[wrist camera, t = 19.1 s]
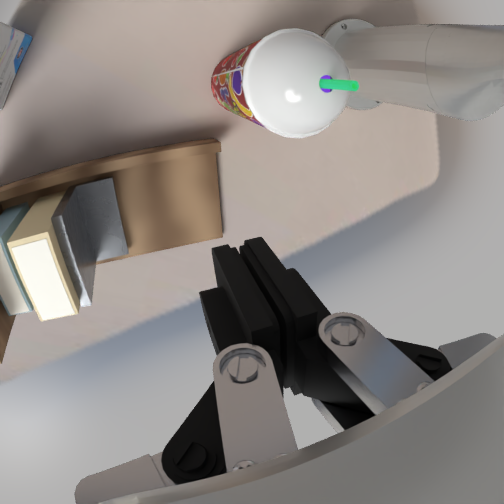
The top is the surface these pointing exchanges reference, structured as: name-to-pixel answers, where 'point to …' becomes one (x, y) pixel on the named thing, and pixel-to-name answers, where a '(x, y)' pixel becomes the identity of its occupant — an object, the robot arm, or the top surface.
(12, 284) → the teal book
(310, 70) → the smoothie
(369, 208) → the top surface
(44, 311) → the tan book
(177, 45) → the top surface
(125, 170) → the shelf
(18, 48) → the ink box
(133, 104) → the top surface
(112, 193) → the bookend
